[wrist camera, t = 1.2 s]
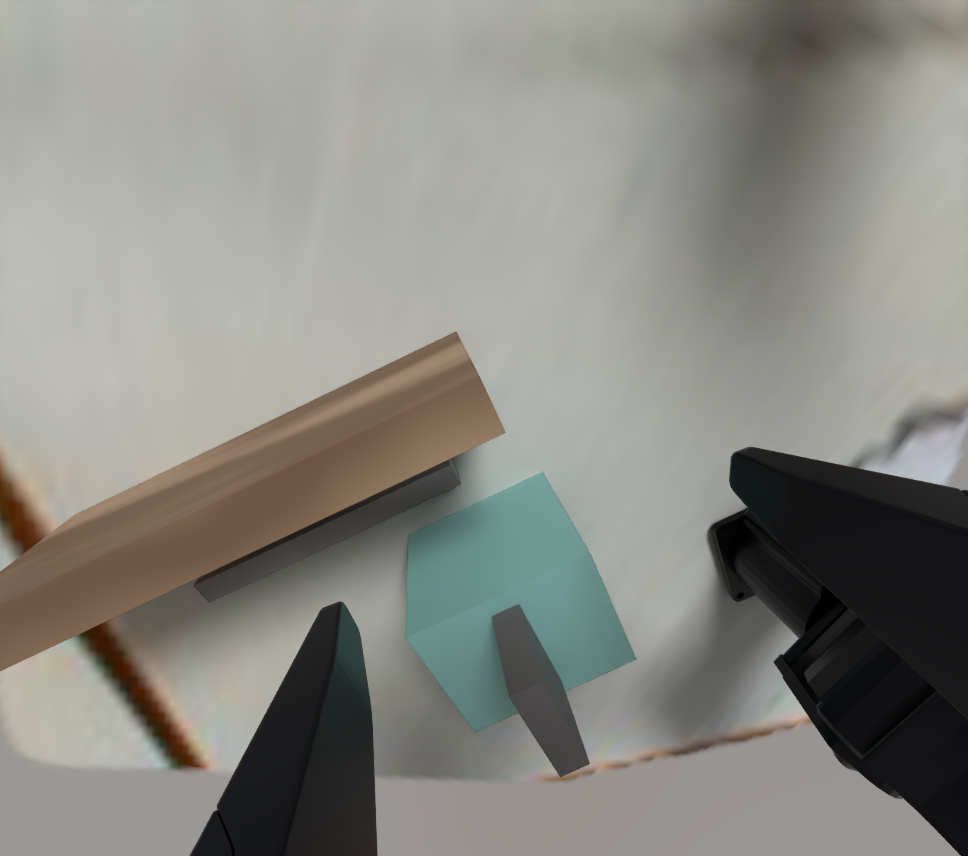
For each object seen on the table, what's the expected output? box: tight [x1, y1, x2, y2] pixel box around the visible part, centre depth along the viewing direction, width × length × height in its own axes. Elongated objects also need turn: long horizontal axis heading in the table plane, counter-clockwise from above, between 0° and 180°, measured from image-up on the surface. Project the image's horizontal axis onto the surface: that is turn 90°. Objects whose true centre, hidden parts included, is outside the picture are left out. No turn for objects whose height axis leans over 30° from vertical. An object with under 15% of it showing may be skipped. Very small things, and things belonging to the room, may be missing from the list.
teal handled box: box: [406, 472, 636, 777], centre depth 20 cm, size 7×8×10 cm
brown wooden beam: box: [0, 332, 506, 671], centre depth 18 cm, size 7×20×8 cm, turn 114°
